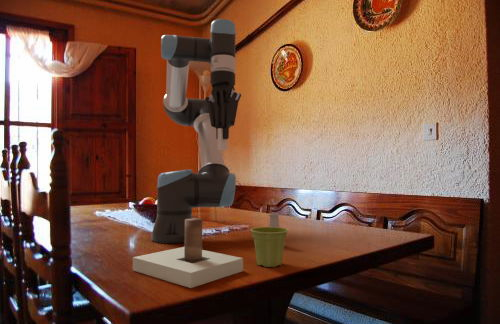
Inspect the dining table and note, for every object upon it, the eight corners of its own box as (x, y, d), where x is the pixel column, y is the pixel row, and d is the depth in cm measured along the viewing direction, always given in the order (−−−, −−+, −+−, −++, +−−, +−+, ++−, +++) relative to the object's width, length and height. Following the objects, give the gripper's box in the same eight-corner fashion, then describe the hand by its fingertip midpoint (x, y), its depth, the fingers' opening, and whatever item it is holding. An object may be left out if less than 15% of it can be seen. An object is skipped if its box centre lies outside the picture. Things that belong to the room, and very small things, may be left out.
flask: (284, 249, 109) (284, 215, 109) (260, 247, 110) (260, 214, 111) (287, 244, 116) (287, 212, 116) (264, 243, 118) (264, 212, 118)
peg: (180, 272, 83) (180, 219, 83) (193, 268, 86) (194, 217, 87) (192, 275, 81) (192, 221, 81) (205, 271, 84) (206, 219, 84)
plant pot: (248, 260, 95) (249, 226, 95) (284, 259, 96) (284, 226, 96) (252, 269, 86) (252, 232, 86) (291, 269, 87) (291, 232, 87)
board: (132, 270, 85) (132, 257, 85) (185, 257, 97) (185, 246, 97) (190, 288, 72) (190, 272, 72) (242, 271, 85) (242, 258, 85)
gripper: (199, 73, 112) (198, 150, 111) (230, 65, 104) (230, 148, 103) (216, 78, 118) (215, 151, 117) (247, 71, 110) (246, 150, 109)
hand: (222, 150), depth 110 cm, fingers closed
